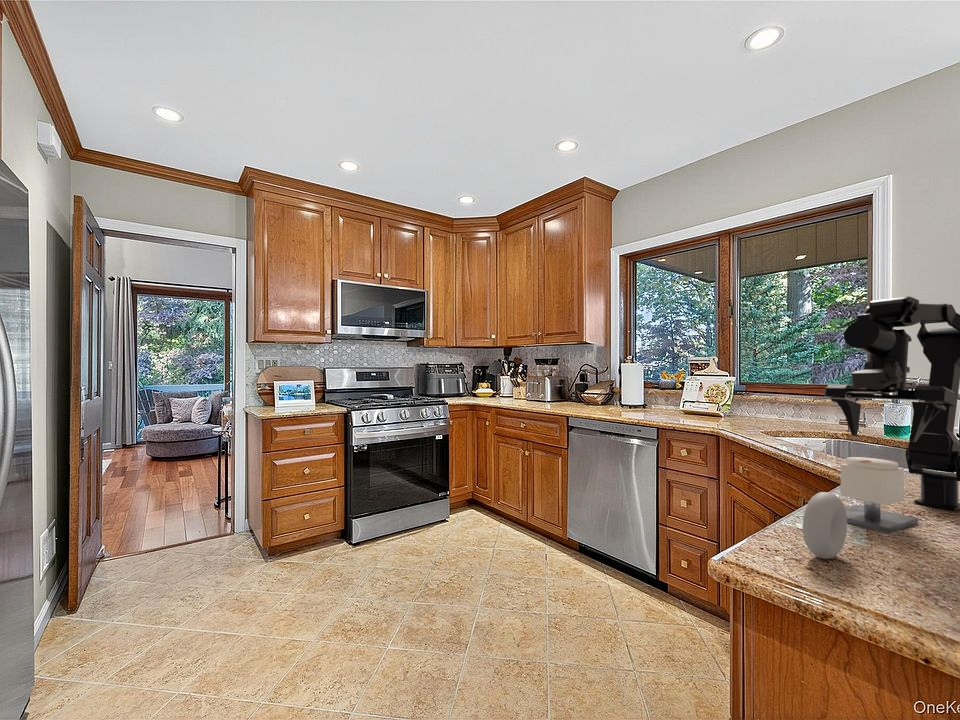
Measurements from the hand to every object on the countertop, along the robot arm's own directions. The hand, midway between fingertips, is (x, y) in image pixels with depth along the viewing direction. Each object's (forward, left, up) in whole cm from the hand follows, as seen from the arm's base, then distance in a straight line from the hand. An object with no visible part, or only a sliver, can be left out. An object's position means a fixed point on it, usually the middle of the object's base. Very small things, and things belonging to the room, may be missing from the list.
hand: (882, 438), depth 88 cm
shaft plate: (+2, -1, -16) cm, 16 cm away
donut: (+30, +4, -16) cm, 34 cm away
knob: (+3, -1, -11) cm, 12 cm away
